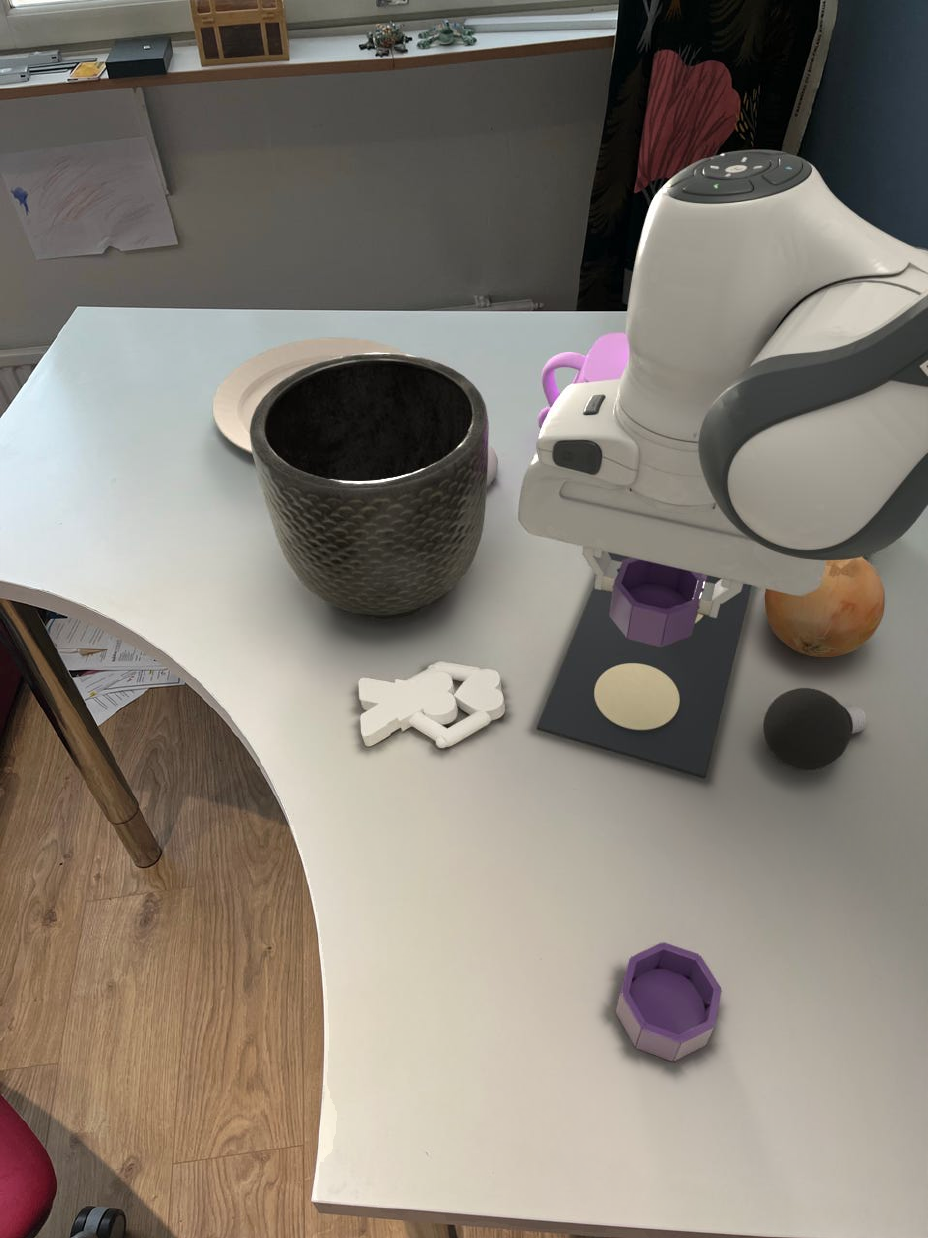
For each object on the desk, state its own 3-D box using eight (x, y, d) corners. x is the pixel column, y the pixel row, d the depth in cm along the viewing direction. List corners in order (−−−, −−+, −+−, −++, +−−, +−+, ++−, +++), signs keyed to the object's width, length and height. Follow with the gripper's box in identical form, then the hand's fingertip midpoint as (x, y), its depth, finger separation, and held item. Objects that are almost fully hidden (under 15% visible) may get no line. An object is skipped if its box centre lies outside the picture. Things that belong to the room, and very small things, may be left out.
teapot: (595, 535, 93) (608, 416, 83) (515, 423, 107) (517, 308, 96) (758, 489, 98) (790, 370, 87) (661, 387, 111) (679, 273, 101)
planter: (471, 503, 97) (468, 340, 83) (506, 641, 84) (509, 474, 70) (283, 526, 95) (248, 363, 82) (288, 670, 82) (247, 505, 68)
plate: (409, 484, 100) (408, 469, 98) (184, 465, 103) (179, 451, 101) (448, 357, 117) (448, 343, 115) (254, 345, 120) (251, 331, 118)
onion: (862, 606, 86) (896, 525, 79) (869, 688, 79) (908, 608, 72) (755, 592, 87) (778, 511, 80) (753, 671, 81) (779, 591, 74)
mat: (752, 578, 89) (753, 575, 88) (704, 778, 74) (705, 775, 73) (610, 545, 92) (611, 542, 92) (536, 729, 77) (536, 726, 77)
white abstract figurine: (511, 738, 76) (508, 723, 74) (367, 764, 76) (362, 749, 74) (495, 657, 82) (493, 642, 80) (362, 681, 82) (357, 666, 80)
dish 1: (702, 596, 69) (710, 563, 66) (686, 654, 65) (693, 621, 62) (623, 577, 70) (628, 544, 68) (602, 632, 66) (607, 600, 64)
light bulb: (908, 706, 73) (826, 722, 67) (876, 772, 75) (795, 792, 70) (843, 665, 77) (762, 677, 72) (815, 728, 80) (735, 744, 75)
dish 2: (717, 984, 62) (727, 963, 60) (700, 1072, 59) (709, 1054, 56) (630, 953, 64) (636, 932, 62) (608, 1038, 60) (613, 1019, 58)
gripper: (869, 442, 55) (810, 602, 66) (542, 381, 61) (535, 538, 71) (860, 507, 51) (799, 666, 62) (512, 435, 57) (508, 593, 67)
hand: (656, 597), depth 66 cm, fingers closed on dish 1, 6 cm apart
